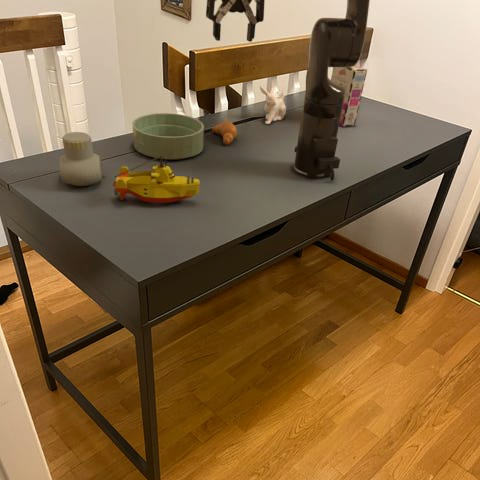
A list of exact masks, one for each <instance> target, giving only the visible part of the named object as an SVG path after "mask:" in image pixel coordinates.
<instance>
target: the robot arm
mask: <svg viewBox="0 0 480 480" xmlns="http://www.w3.org/2000/svg"><path fill="white" fill-rule="evenodd" d="M217 1H218V0H206V8H205V18H207V19H208V20H210V21H212V36H213V38H214V40H215V41H216V42H220V41H221V31H222V29H221V28H222V23H221V21H223V18H225V16H226V15H227V14H228V13H232V14H234V13H239V14H243V13H244V15H245V16H246V18H247V20H248V23H247V28H246V29H247V30H246V41H247V42H249V43H250V42H253V40H254V39H255V36H256V25H257V24H258V23H262V22H263V21H264V19H265V2H266V1H265V0H254V2H255V14H254V11H253V9H252V7H251V3H252V1H253V0H220V1H221V3H220V5H219V6H218V8H217V11H216V12H215V4H216V2H217ZM370 1H371V0H346V13H345V17H344V18H342V17H341V18H340V17H321V18H318V19H317V20H316V21H315V23H314V25H313V27H312V30H311V34H310V39H309V47H308V57H307V58H308V59H307V67H306V73H305V74H306V75H305V92H304V98H303V106H302V112H301V118H300V125H299V131H298V136H297V143H296V146H295V147H294V153H295V157H294V163H293V167H292V168H293V171H295V172H296V173H298V174H299V175H301V176H305V177H307V178H309V179H316V178H325V177H330V181H331V182H333V181H334V179H335V170H337V169H339V167H340V163H341V158H339V157H338V156H336V153H337V148H338V147H337V146H338V142H339V139H338V133H339V127H340V125H339V123H340V118H341V114H342V109H343V104H344V99H345V94H346V90H345V88H344V87H343V86H342V85H340V84H339V83H336V82H334V81H332V80H331V78H329V68H333V67H353V66H355V65H356V66H357V64H358V62H359V60H360V58H361V57H362V54H363V51H364V45H365V41H366V33H367V28H368V27H367V26H368V18H369V11H370V3H371V2H370Z"/></svg>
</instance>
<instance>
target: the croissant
mask: <svg viewBox="0 0 480 480" xmlns="http://www.w3.org/2000/svg"><path fill="white" fill-rule="evenodd" d="M211 131H212V132H213V133H214V134H217V135H219V136H221V137H222V143H223V145H225V146H228V145H230V144H232V142H233V141H234V139H235V138H237V137H236V136H237V135H238V130H237V127H236V125H234V123H233V122H231V121H229V120H223V121H222V122H221V123H217V125H214V126H213V127H212V129H211Z"/></svg>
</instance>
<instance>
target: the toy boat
mask: <svg viewBox="0 0 480 480" xmlns="http://www.w3.org/2000/svg"><path fill="white" fill-rule="evenodd" d="M155 160H159V163H158V164H156V165H155V166H154V165H153V166H152V170H136V171H133V170H135V169H138V168H140V167H142V166H144V165H146V164H149V163H151V162H153V161H155ZM131 171H133V172H131ZM153 171H154V172H153ZM114 178H116V179H115V181H113V183H112V186H114V189H113V195H114V196H119V197H120V200H124V199H125V197H126V195H127V194H129V195H132V196H134V197H136V198H138V199H139V200H141V201H143V202H147V203H155V204H169V203H175V202H178V201H181V200H187V199H190V198H192V197H194V196H195V195H197V194H199V191H200V185H201V183H200V181H201V180H200V179H199V178H195V177H190V176H183V175H182V176H181V175H180V176H177V175H175V174H174V173H173V171H172V169H171V167H170V166H168V165H167V159H164V163H163V159H162V156H160V157H157V158H153V159H151V160H148V161H147V162H144V163H143V164H140V165H137V166H135V167H133V168H131V169H129V168H128V166H121V168H120V170H119V172H118V174H116V175H115V176H114Z"/></svg>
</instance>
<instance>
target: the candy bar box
mask: <svg viewBox="0 0 480 480" xmlns="http://www.w3.org/2000/svg"><path fill="white" fill-rule="evenodd" d="M367 73H368V69H366V68H364V67H362V66H359V65H357V64H356V65H355V66H353V67H332V72H331V77H330V80H332V81H334V82H336V83H339V84H340V85H342V86H343V87H344V88H345V90H346V94H345V99H344V104H343V109H342V114H341V118H340V123H339V126H341V127H342V128H343V127H345V128H346V127H355V126H356V121H357V117H358V112H359V108H360V104H361V99H362V95H363V90H364V86H365V82H366V77H367Z"/></svg>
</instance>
